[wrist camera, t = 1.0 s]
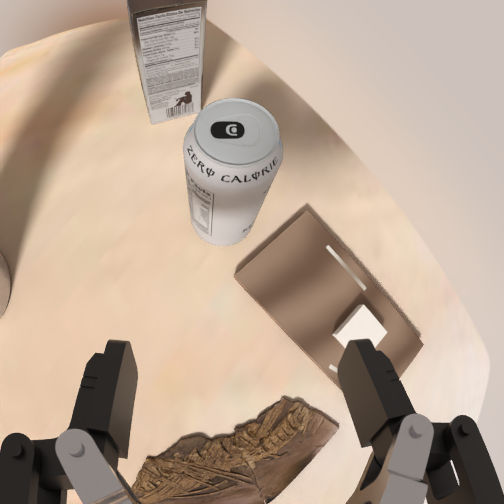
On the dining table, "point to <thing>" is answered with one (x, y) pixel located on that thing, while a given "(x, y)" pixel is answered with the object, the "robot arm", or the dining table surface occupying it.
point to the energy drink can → (230, 167)
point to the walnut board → (322, 295)
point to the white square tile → (360, 327)
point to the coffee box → (169, 54)
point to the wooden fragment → (238, 460)
